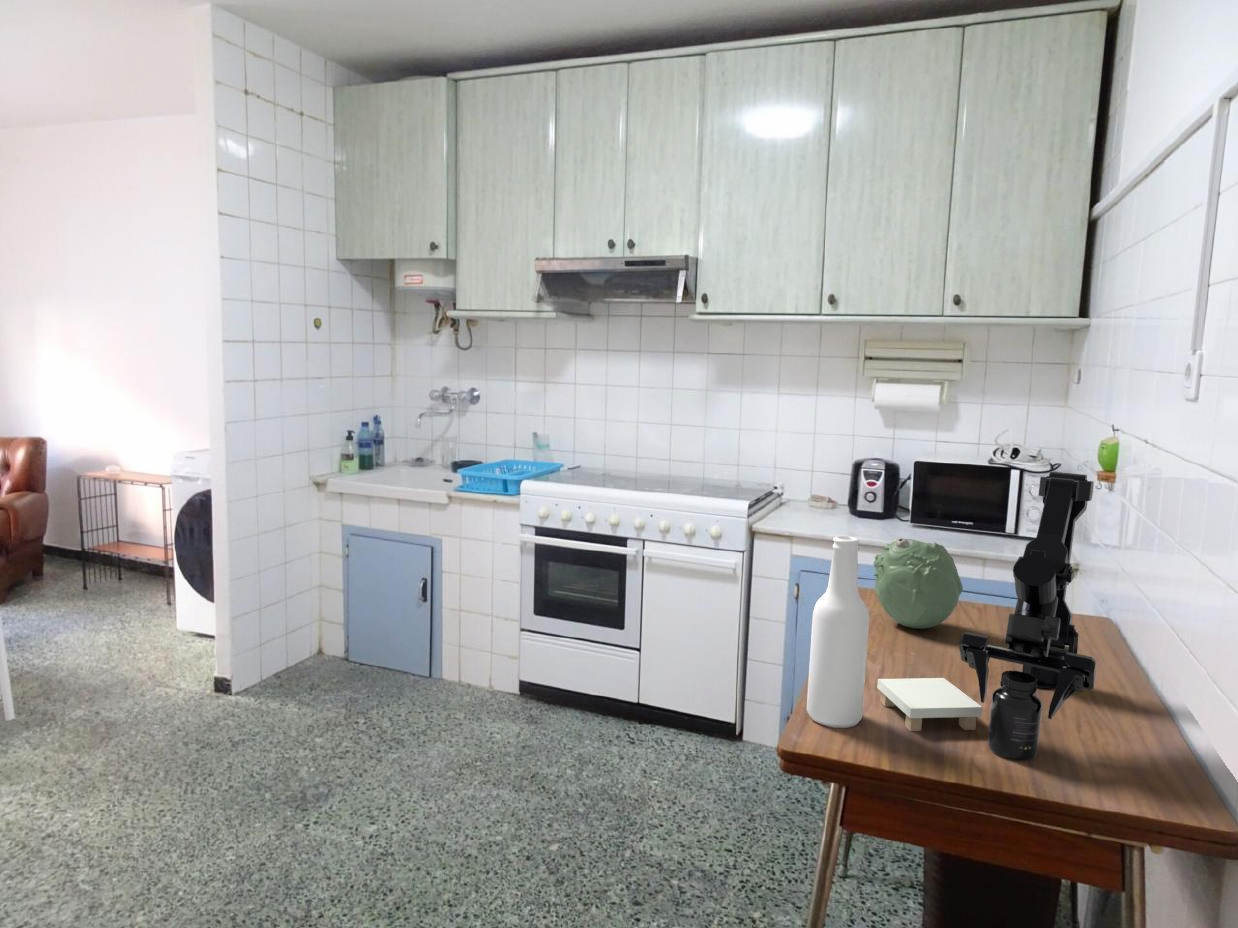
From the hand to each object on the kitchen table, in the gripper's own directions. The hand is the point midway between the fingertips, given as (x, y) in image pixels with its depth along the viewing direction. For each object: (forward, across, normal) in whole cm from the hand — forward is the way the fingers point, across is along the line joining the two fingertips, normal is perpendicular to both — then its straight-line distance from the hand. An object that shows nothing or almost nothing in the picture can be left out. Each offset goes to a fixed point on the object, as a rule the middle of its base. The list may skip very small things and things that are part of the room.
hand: (1015, 709), depth 122 cm
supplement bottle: (+4, 0, +6) cm, 7 cm away
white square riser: (+1, -14, +9) cm, 17 cm away
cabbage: (-33, -28, +43) cm, 61 cm away
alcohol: (+8, -26, +2) cm, 27 cm away
